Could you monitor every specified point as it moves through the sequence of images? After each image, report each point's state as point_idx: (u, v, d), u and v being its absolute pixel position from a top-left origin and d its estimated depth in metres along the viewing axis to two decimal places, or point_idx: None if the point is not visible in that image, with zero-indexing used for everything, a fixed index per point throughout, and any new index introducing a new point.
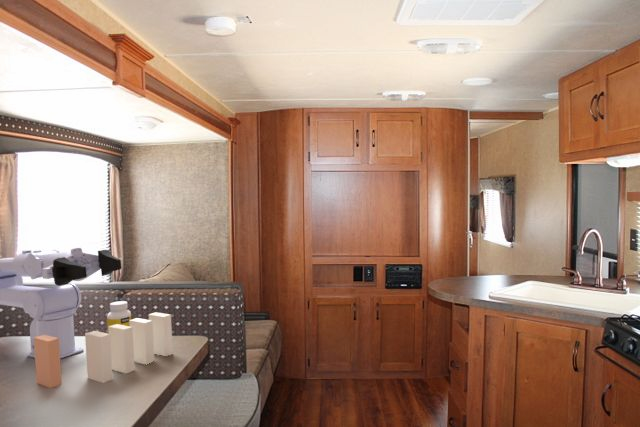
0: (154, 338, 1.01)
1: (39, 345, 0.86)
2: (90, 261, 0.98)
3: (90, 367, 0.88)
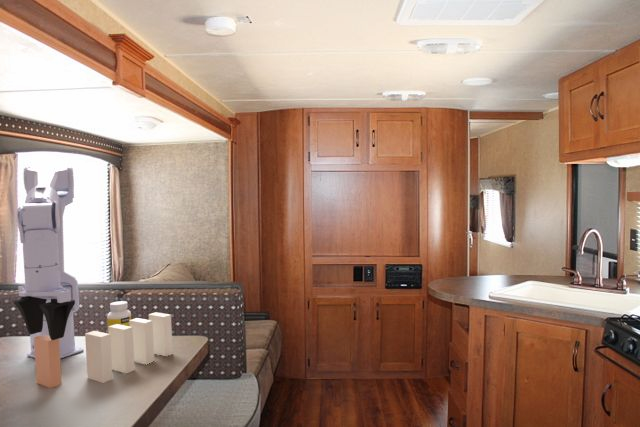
0: (154, 338, 1.01)
1: (39, 345, 0.86)
2: None
3: (90, 367, 0.88)
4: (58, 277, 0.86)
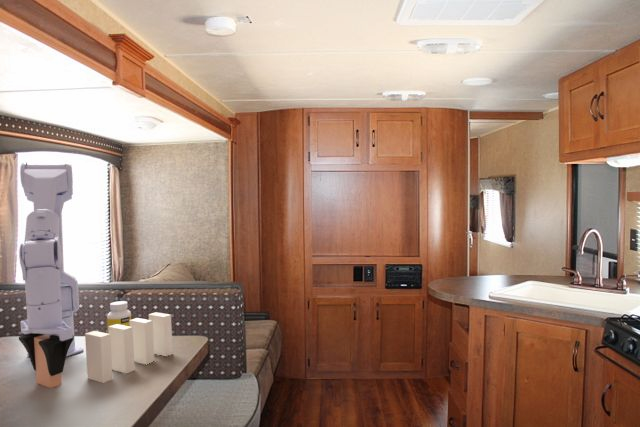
0: (154, 338, 1.01)
1: (39, 345, 0.86)
2: None
3: (90, 367, 0.88)
4: (60, 313, 0.86)
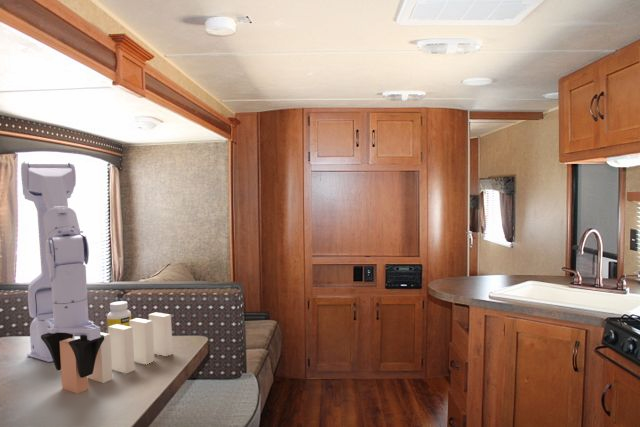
0: (154, 338, 1.01)
1: (65, 349, 0.83)
2: None
3: None
4: (86, 312, 0.84)
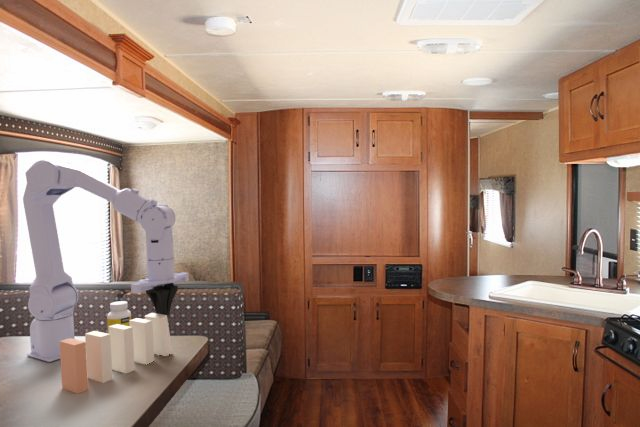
0: None
1: (65, 349, 0.83)
2: None
3: (90, 367, 0.88)
4: None
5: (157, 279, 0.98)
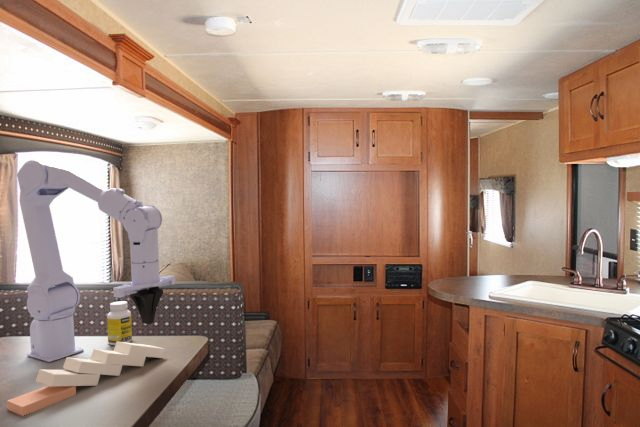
0: None
1: None
2: None
3: None
4: None
5: (141, 282, 0.95)
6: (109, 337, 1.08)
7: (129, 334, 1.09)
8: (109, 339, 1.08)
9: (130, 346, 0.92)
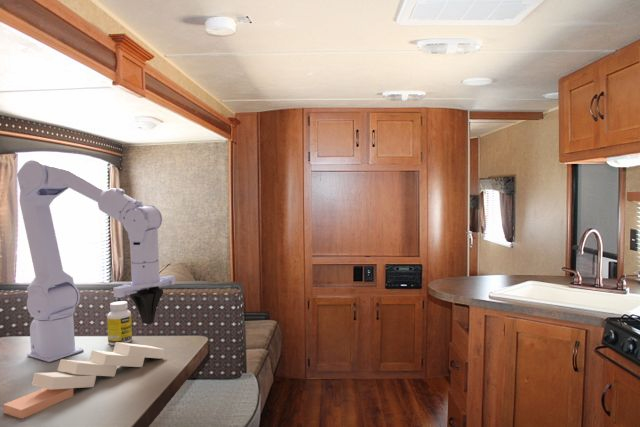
0: None
1: None
2: None
3: None
4: None
5: (141, 282, 0.95)
6: (109, 337, 1.08)
7: (129, 334, 1.09)
8: (109, 339, 1.08)
9: (129, 347, 0.91)
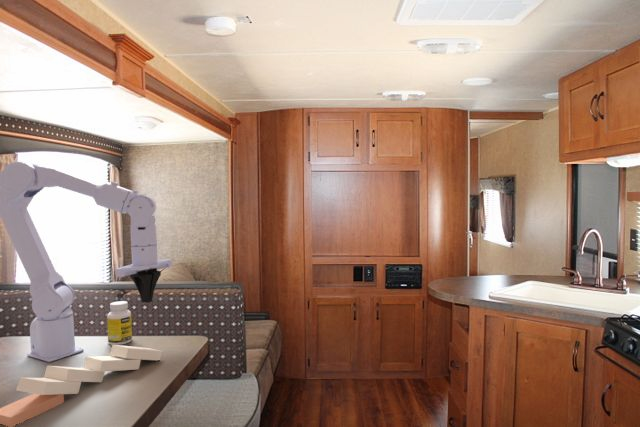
0: None
1: None
2: None
3: None
4: None
5: (140, 264, 1.04)
6: (109, 337, 1.08)
7: (129, 334, 1.09)
8: (109, 339, 1.08)
9: (127, 349, 0.90)
